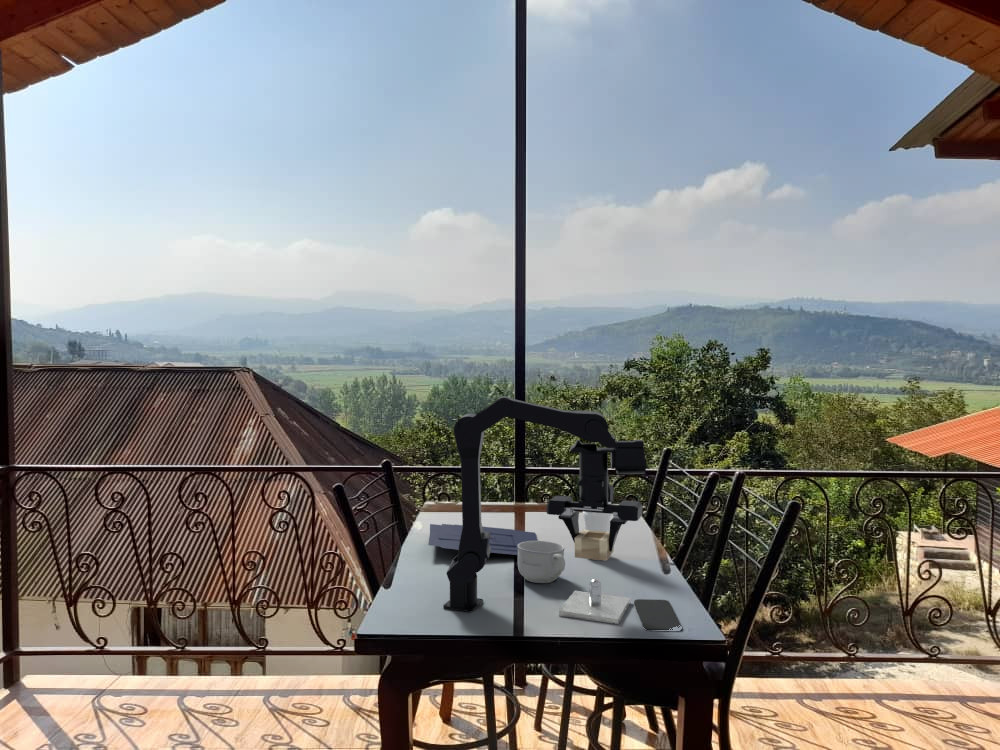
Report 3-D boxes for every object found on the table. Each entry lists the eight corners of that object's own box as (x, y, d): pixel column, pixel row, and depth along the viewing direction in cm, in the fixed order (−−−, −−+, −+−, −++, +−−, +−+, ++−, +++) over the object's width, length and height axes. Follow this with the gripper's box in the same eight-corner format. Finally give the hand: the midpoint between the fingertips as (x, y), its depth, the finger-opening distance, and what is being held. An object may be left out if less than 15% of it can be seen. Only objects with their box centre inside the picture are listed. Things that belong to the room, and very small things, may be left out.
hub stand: (618, 624, 136) (618, 592, 136) (558, 615, 141) (558, 585, 140) (630, 602, 147) (630, 573, 147) (574, 595, 152) (574, 566, 151)
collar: (606, 560, 139) (606, 540, 139) (574, 557, 142) (574, 537, 142) (613, 551, 145) (613, 532, 145) (583, 548, 148) (582, 529, 148)
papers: (429, 531, 198) (430, 519, 198) (533, 541, 201) (535, 529, 201) (426, 558, 174) (428, 543, 174) (545, 569, 177) (547, 555, 176)
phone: (644, 629, 133) (633, 599, 148) (644, 633, 133) (632, 602, 148) (683, 629, 133) (668, 599, 148) (683, 634, 133) (668, 603, 148)
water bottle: (610, 562, 174) (611, 462, 173) (581, 560, 176) (582, 461, 174) (611, 553, 181) (612, 457, 180) (583, 552, 183) (584, 456, 181)
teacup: (510, 574, 165) (510, 541, 165) (552, 569, 169) (552, 536, 169) (534, 594, 152) (534, 558, 152) (578, 588, 156) (579, 552, 156)
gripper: (646, 469, 147) (647, 543, 148) (560, 464, 154) (561, 535, 154) (636, 479, 136) (637, 558, 137) (545, 474, 143) (546, 549, 144)
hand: (594, 549), depth 144 cm, fingers closed on collar, 6 cm apart
